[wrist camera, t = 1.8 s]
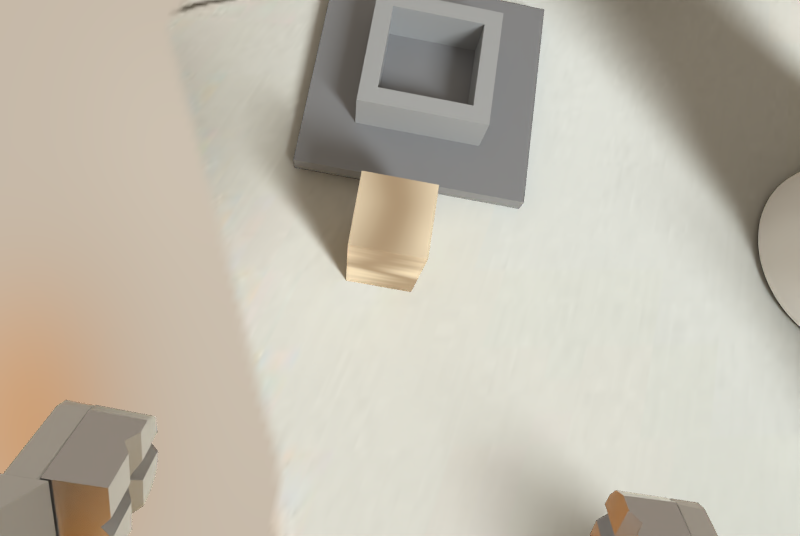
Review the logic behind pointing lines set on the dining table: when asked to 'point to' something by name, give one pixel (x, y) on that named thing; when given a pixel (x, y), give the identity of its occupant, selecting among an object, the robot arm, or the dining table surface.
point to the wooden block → (390, 231)
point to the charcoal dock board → (425, 94)
